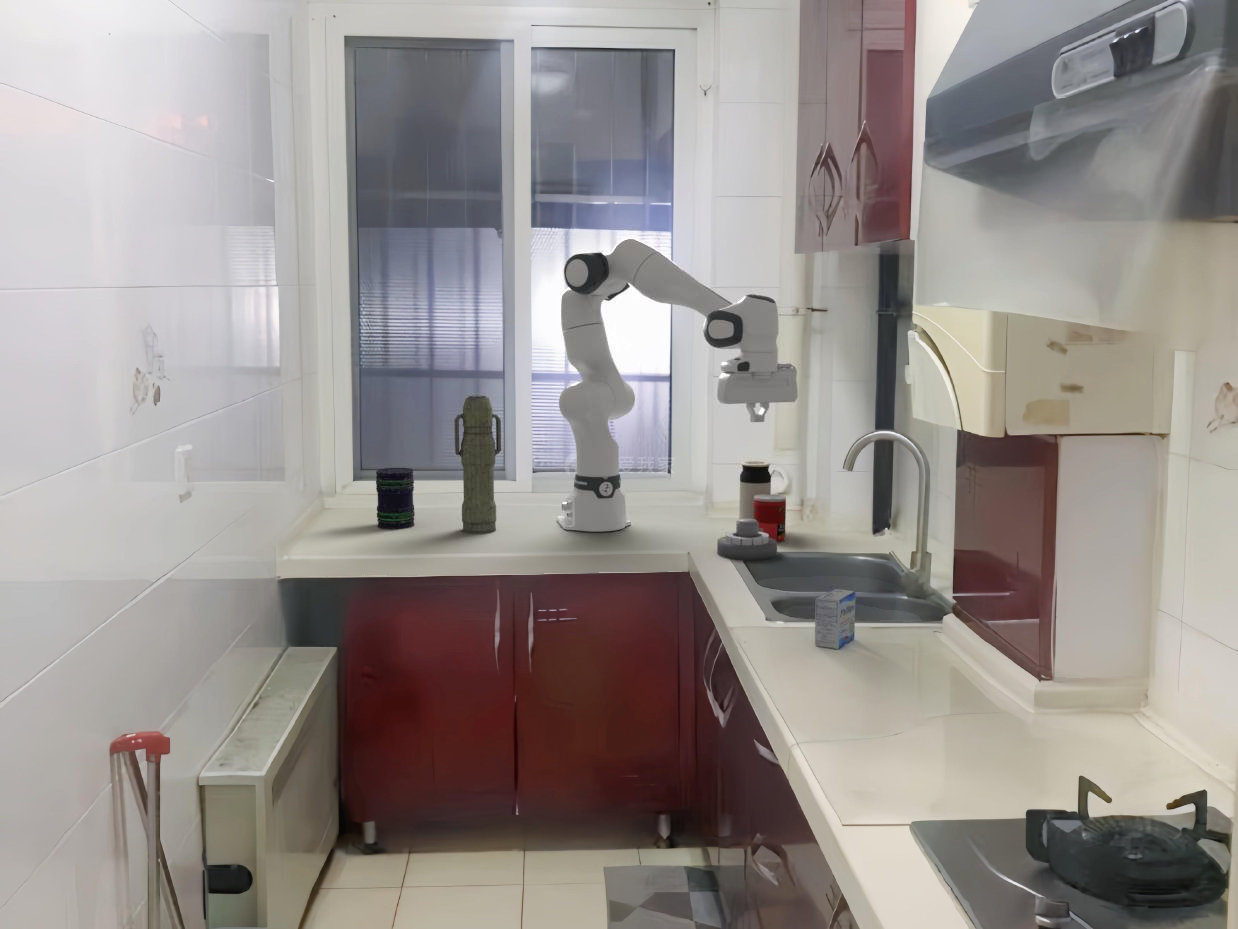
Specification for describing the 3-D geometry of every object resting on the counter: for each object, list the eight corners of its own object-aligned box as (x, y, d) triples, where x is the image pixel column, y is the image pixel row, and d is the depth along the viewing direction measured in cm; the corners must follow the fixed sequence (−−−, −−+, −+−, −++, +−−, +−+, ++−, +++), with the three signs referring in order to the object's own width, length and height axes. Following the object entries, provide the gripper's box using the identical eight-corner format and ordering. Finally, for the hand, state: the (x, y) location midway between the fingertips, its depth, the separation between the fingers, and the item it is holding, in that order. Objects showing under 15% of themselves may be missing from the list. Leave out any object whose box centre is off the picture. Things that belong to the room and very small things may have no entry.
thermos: (506, 531, 292) (505, 396, 288) (462, 535, 288) (460, 398, 283) (496, 525, 300) (494, 394, 296) (453, 528, 296) (450, 395, 291)
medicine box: (838, 650, 191) (839, 600, 190) (813, 646, 194) (815, 597, 193) (854, 639, 198) (856, 591, 197) (830, 635, 200) (832, 587, 199)
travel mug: (732, 530, 294) (733, 462, 292) (754, 527, 299) (755, 459, 297) (754, 535, 288) (755, 465, 286) (776, 531, 293) (777, 463, 291)
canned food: (784, 543, 278) (785, 499, 277) (751, 542, 280) (752, 498, 278) (785, 537, 286) (786, 494, 284) (754, 536, 287) (755, 493, 286)
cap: (732, 539, 268) (732, 519, 267) (751, 538, 270) (751, 517, 269) (742, 544, 263) (743, 522, 262) (762, 542, 265) (762, 521, 264)
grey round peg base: (707, 549, 271) (707, 531, 270) (758, 545, 276) (758, 527, 275) (734, 562, 258) (735, 542, 257) (787, 556, 263) (788, 538, 263)
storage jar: (422, 524, 301) (421, 469, 299) (396, 531, 293) (395, 474, 291) (395, 521, 306) (393, 466, 304) (369, 526, 298) (367, 471, 296)
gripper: (789, 362, 274) (788, 419, 276) (714, 363, 266) (713, 422, 268) (803, 363, 268) (801, 421, 270) (727, 365, 260) (726, 424, 262)
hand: (757, 421), depth 269 cm, fingers closed
